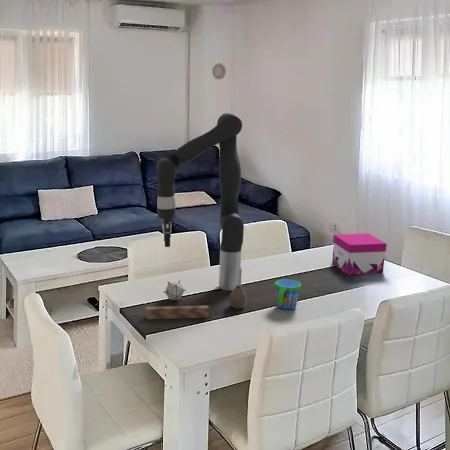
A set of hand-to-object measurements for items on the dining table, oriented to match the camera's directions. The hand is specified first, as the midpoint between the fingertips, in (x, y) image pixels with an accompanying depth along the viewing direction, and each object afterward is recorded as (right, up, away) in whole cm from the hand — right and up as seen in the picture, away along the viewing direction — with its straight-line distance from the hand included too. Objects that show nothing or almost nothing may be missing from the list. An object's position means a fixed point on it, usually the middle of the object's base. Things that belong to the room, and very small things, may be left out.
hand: (167, 243), depth 259 cm
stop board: (+6, -27, -23) cm, 36 cm away
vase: (+30, -25, -11) cm, 40 cm away
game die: (+4, -23, -6) cm, 24 cm away
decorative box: (+89, -14, +44) cm, 101 cm away
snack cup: (+50, -26, -9) cm, 56 cm away
